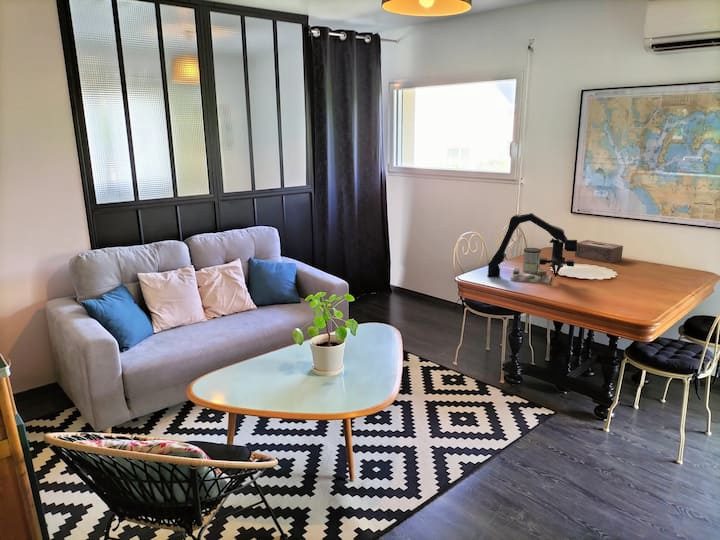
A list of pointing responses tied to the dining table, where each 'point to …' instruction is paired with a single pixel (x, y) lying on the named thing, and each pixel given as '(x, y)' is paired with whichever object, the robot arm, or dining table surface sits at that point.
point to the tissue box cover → (599, 251)
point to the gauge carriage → (540, 272)
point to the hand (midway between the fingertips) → (555, 276)
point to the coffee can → (531, 260)
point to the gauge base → (529, 277)
